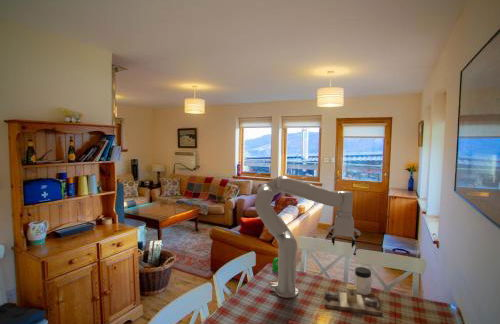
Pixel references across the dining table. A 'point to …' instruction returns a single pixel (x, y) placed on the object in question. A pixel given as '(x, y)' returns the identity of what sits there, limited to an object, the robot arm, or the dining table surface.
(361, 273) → the jar
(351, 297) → the brass coupler
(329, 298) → the coupling jig
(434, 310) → the dining table surface
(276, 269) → the mechanical part
